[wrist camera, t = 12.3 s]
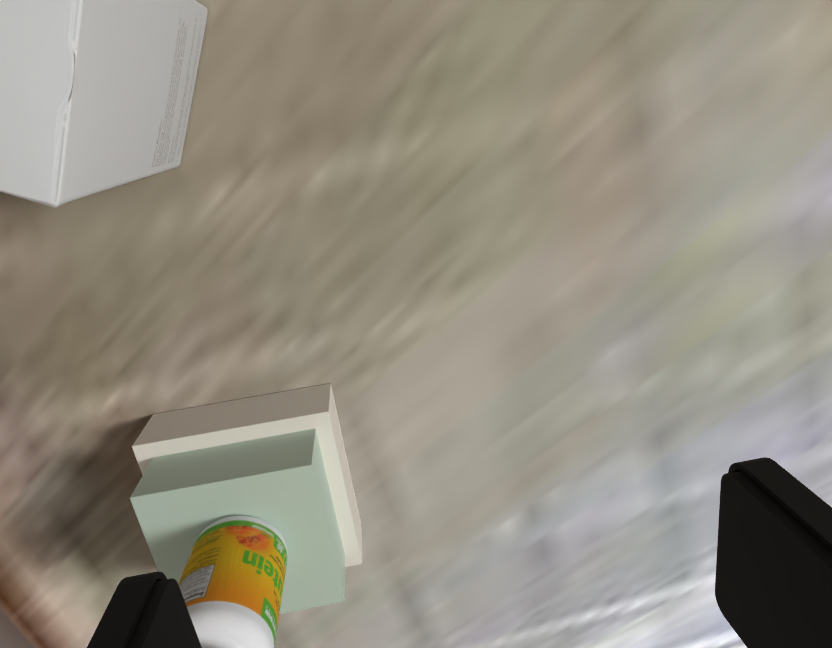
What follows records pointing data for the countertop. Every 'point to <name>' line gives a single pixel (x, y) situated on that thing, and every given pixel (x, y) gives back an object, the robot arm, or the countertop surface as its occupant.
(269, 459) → the block
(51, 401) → the countertop surface
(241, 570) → the supplement bottle
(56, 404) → the countertop surface
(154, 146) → the supplement box
